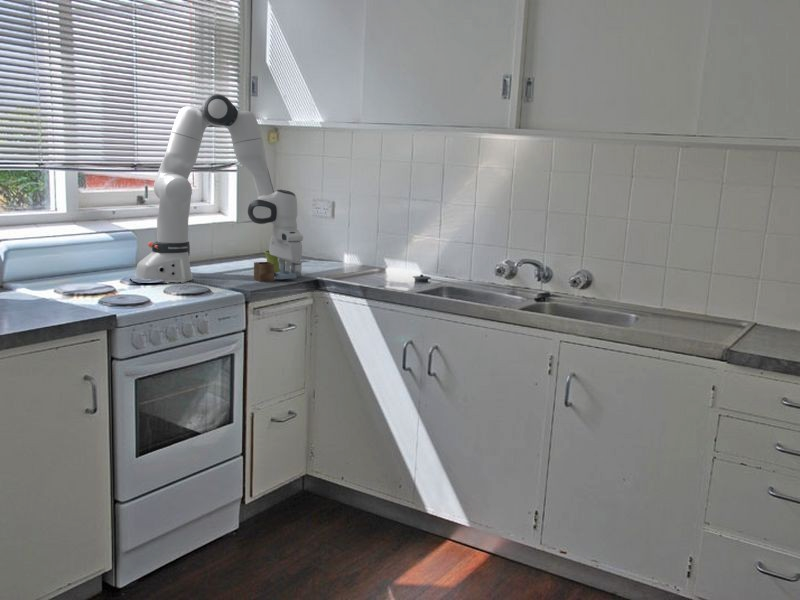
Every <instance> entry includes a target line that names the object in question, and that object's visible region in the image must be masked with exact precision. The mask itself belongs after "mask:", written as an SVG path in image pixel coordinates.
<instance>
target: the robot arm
mask: <svg viewBox="0 0 800 600" xmlns="http://www.w3.org/2000/svg"><path fill="white" fill-rule="evenodd" d="M208 127H209V128H213V127H214V128H220V127H224V128H226V129H227V130H228V133H229V134H230V137H231V142H232V147H233V150H234V153H235V154H234V155H235V157H236V159H237V161H238V163H240V164H241V165H242V166H243V167H244V168H246V169H247V171H249V173H250V174H251V176H252V179H253V182H254V186H255V190H256V194H257V198H255V199H254V200H253V201H251V202H250V203H249V205H248V207H247V215H248V218H249V220H251V221H252V222H253V223H254V224H257V225H258V224H259V225H265V224H269V223H272V224H273V229H272V233H271V234H272V235H271V236H270V240H269V246H268V247H269V252H270V255H273V256H276V257H278V262H279V269H280V267H281V264H284V259H285V266H284V271H290V265H291V263H292V262H299V261H301V260H302V256H303V243H302V242H303V241H304V236H303V234H302V233H301V232H300V231H299V230H298V224H297V217H298V199H297V195H296V194H295V193H294V192H293V191H289V190H286V189H276V190H274V187H273V183H272V180H271V179H272V178H271V176H270V172H269V169H268V165H267V158H266V153H265V146H264V140H263V135H262V131H261V128H260V125H259V122H258V121H257V117H256V115H255V114H254V113H253V112H252V111H250V110H239V109H237V107H236V106H235V105H234V104H233V102H232V101H231V100H230V99H229V98H228V97H227V96H225V95H222V94H219V93H218V94H212V95H209V96H208V97H206V98H205V100H204V101H203V103H202V105H200V106H199V107H195V106H191V105H187V106H183V107H182V108H180V110H179V111H178V113H177V115H176V117H175V119H174V122H173V125H172V128H171V132H170V134H169V135H170V136H169V138H168V144H167V147H166V151H165V152H164V157H163V159H162V161H161V163H160V167H159V169H158V171H157V174H156V176H155V180H154V182H153V191H154V194H155V196H156V197H157V198H158V199H159V205H158V214H157V219H156V222H157V223H156V227H157V228H156V231H157V234H156V236H157V237H156V239H157V240H156V241H155V242H153V241H148V243H147V246H148V247H149V248H151V252H150V253H149V254H148V255H147V254H146V256H145V257H143V258H142V259H141V260H140V261H139V262H137V265H136V268H135V274H134V275H135V276H136V277H137V278H144V279H156V278H157V279H163V280H164V281H165V282H181V283H180V284H185V283H186V282H189V281H192V280H193V279H194V278H193V275H192V270H191V266H190V263H191V262H190V254H191V253H190V252H191V247H190V241H189V217H190V212H191V211H190V209H191V201H192V195H193V188H192V184H191V183H190V181H189V177H190V175H191V172H192V170H193V168H194V166H195V165H196V162H197V160H198V157H199V152H200V148H201V144H202V141H203V137H204V133H205V131H206V129H207V128H208Z"/></svg>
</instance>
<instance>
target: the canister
mask: <svg viewBox="0 0 800 600" xmlns="http://www.w3.org/2000/svg"><path fill="white" fill-rule="evenodd" d="M253 280H254V281H256V282H260V283H262V282H263V283H264V282H275V277H274V264H273V263H270V262H267V261H256V262H253Z"/></svg>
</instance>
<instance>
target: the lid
mask: <svg viewBox="0 0 800 600" xmlns="http://www.w3.org/2000/svg"><path fill="white" fill-rule="evenodd" d="M285 263H286V262H285ZM285 263H284V264H281V267H280V272H274V278H277V279H279V280H284V279H287V280H289V279H297V274H295V273H292V272H289V271H284V266H285Z"/></svg>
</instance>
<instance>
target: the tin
mask: <svg viewBox="0 0 800 600" xmlns="http://www.w3.org/2000/svg"><path fill="white" fill-rule="evenodd" d="M302 264H303V262H302V261H301V260H300V261H299V262H292V263H291V265H290V271H289V272H292V273H295V274H297V278H298V279H299V278H302V270H303V269H302V267H303V265H302ZM297 278H296V279H297Z"/></svg>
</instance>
